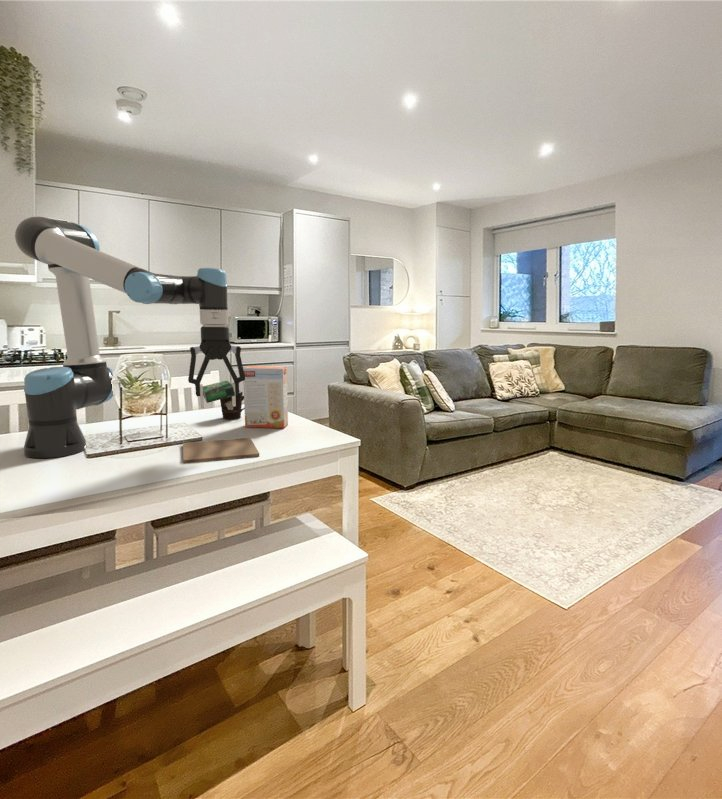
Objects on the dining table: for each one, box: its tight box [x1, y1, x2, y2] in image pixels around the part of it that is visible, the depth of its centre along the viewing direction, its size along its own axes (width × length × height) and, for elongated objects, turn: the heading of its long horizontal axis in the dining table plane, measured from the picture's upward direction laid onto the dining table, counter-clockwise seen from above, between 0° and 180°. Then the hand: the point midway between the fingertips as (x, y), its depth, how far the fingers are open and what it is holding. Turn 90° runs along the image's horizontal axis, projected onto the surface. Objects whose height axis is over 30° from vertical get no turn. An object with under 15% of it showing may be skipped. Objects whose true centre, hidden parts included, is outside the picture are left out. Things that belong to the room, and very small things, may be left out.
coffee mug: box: [219, 389, 245, 421], centre depth 185 cm, size 12×9×10 cm
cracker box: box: [243, 365, 289, 429], centre depth 172 cm, size 14×6×21 cm, turn 84°
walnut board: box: [182, 437, 260, 464], centre depth 144 cm, size 20×18×1 cm
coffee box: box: [203, 379, 235, 404], centre depth 140 cm, size 8×3×13 cm
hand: (218, 406), depth 142 cm, fingers closed on coffee box, 8 cm apart
